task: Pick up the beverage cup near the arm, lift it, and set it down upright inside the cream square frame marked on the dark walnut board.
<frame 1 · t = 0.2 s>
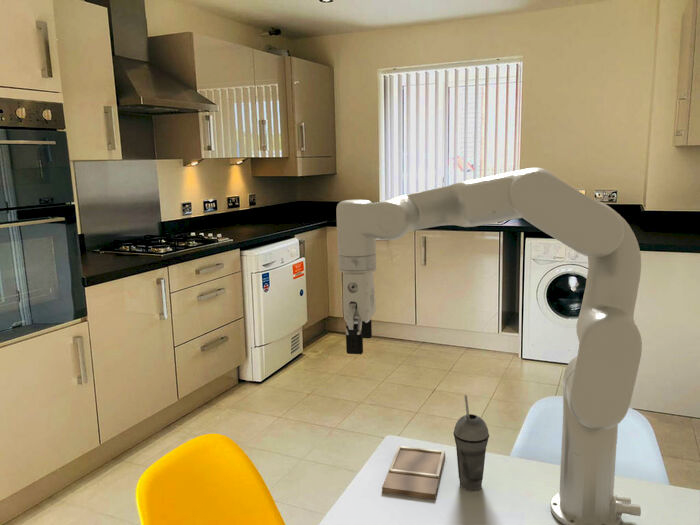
hand: (359, 345, 119), 31 cm above the table, tool pointing down, fingers open, 9 cm apart
beverage cup: (470, 485, 124), on the table
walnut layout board: (415, 473, 128), on the table
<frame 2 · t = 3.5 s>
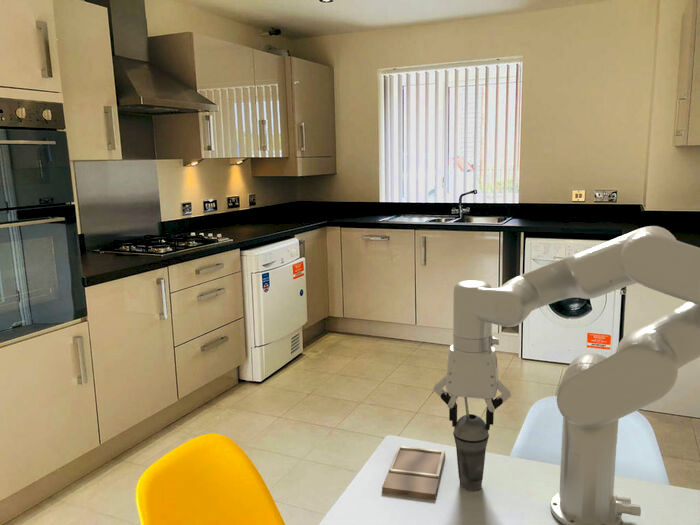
hand: (471, 424, 121), 14 cm above the table, tool pointing down, fingers closed on beverage cup, 6 cm apart
beverage cup: (470, 485, 124), on the table, touching gripper
when the fingers open (16 cm above the table, at t = 9.1 s): beverage cup drops 1 cm, resting on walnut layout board.
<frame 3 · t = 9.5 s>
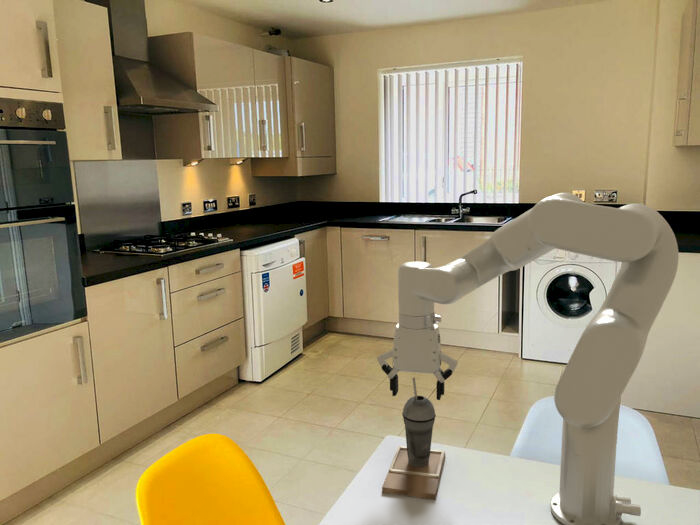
hand: (417, 395, 128), 17 cm above the table, tool pointing down, fingers open, 9 cm apart
beverage cup: (418, 462, 131), point 1 cm above the table, touching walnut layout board
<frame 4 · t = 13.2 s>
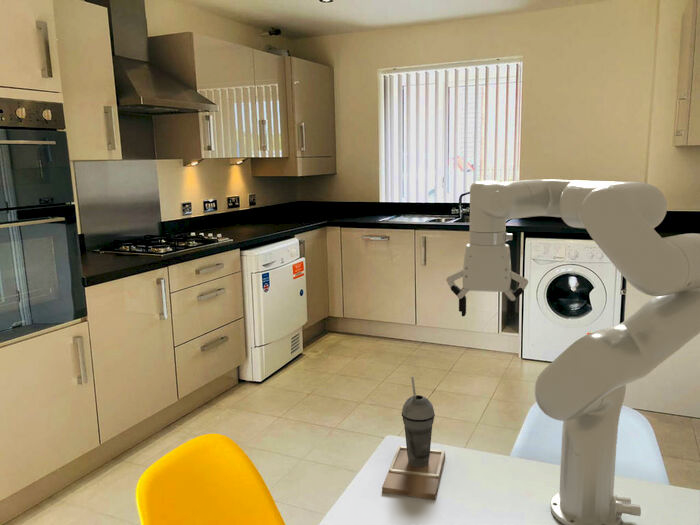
hand: (486, 315, 129), 33 cm above the table, tool pointing down, fingers open, 9 cm apart
nothing on the table moved.
at the end: beverage cup 0.2 cm from the target spot on the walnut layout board, point 1.0 cm above the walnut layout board's base; beverage cup tilted 0°; the gripper is holding nothing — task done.
